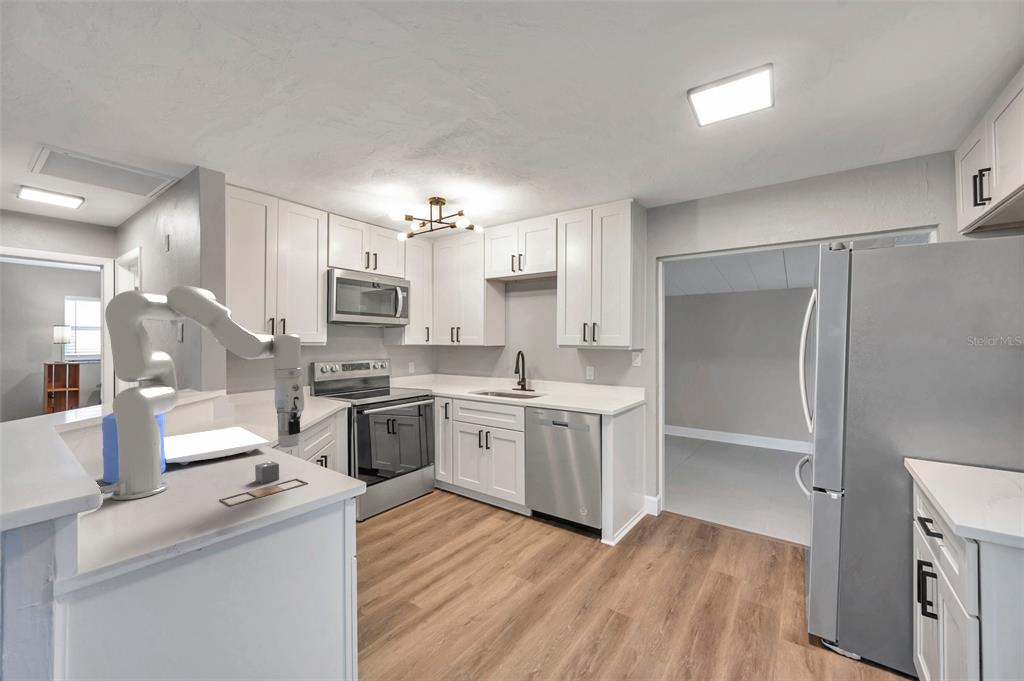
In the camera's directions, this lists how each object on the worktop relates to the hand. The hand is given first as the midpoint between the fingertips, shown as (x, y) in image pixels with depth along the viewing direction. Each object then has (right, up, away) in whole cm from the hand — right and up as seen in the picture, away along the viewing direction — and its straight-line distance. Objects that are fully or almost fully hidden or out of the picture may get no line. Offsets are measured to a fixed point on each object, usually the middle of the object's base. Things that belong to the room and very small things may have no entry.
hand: (289, 432), depth 130 cm
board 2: (-4, -16, -6) cm, 18 cm away
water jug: (-58, -18, +11) cm, 61 cm away
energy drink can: (0, -4, 0) cm, 4 cm away
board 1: (-56, -18, +43) cm, 73 cm away
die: (-10, -16, +5) cm, 20 cm away
